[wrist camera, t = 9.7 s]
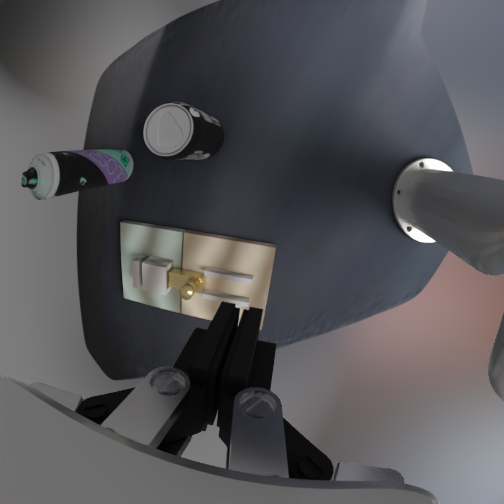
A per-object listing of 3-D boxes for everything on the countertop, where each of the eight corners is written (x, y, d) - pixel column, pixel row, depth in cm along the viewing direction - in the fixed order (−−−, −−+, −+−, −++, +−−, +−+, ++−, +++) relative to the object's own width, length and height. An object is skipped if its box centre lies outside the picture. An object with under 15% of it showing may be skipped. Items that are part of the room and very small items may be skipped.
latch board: (276, 244, 40) (274, 255, 36) (262, 325, 44) (258, 341, 40) (125, 220, 42) (109, 226, 38) (128, 294, 47) (115, 305, 43)
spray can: (135, 178, 40) (39, 199, 21) (109, 184, 41) (16, 208, 22) (131, 145, 38) (34, 148, 19) (105, 153, 39) (10, 162, 20)
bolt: (206, 274, 41) (195, 288, 36) (205, 288, 42) (195, 303, 37) (147, 262, 42) (132, 273, 37) (147, 275, 43) (133, 288, 38)
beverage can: (187, 165, 38) (147, 168, 27) (177, 123, 36) (134, 113, 25) (230, 152, 37) (203, 149, 25) (219, 109, 35) (188, 90, 24)
